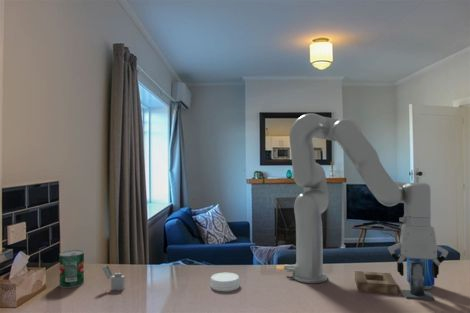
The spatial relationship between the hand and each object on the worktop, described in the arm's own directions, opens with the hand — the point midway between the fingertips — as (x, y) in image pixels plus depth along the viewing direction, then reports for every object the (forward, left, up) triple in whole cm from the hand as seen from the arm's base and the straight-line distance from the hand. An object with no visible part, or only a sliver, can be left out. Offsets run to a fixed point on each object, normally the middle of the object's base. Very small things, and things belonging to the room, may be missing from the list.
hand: (417, 275), depth 114 cm
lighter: (-98, -16, -7) cm, 100 cm away
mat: (0, 0, -6) cm, 6 cm away
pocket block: (-12, +6, -6) cm, 15 cm away
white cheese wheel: (-62, -5, -7) cm, 63 cm away
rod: (0, 0, -6) cm, 6 cm away
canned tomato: (-115, -15, -7) cm, 116 cm away
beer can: (+3, +10, -7) cm, 12 cm away
